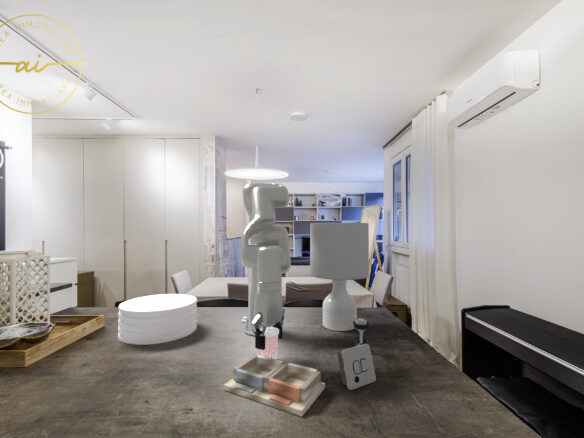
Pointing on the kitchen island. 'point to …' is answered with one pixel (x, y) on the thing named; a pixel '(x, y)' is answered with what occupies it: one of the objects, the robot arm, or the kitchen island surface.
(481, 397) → the kitchen island surface
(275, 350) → the beverage cup
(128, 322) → the plate stack
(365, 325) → the push button
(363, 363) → the electrical switch
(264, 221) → the robot arm
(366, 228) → the lamp
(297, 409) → the socket board
